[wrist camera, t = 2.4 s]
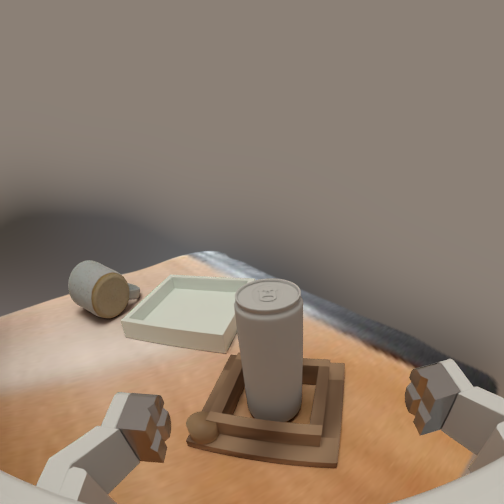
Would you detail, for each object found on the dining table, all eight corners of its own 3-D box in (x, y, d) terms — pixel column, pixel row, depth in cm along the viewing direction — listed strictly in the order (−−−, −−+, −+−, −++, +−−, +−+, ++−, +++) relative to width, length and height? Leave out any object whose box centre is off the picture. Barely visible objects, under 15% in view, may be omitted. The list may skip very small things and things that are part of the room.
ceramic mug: (101, 329, 39) (85, 279, 37) (75, 314, 43) (61, 269, 41) (153, 299, 48) (143, 253, 45) (123, 288, 52) (114, 247, 49)
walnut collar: (188, 445, 22) (181, 429, 21) (231, 360, 33) (228, 342, 32) (335, 468, 19) (339, 452, 18) (344, 368, 29) (346, 350, 29)
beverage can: (299, 387, 28) (299, 275, 24) (303, 426, 23) (307, 308, 19) (249, 390, 28) (235, 279, 24) (246, 428, 24) (229, 313, 19)
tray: (125, 337, 38) (120, 320, 37) (173, 289, 50) (170, 274, 49) (225, 353, 34) (222, 335, 33) (256, 294, 46) (254, 278, 45)
